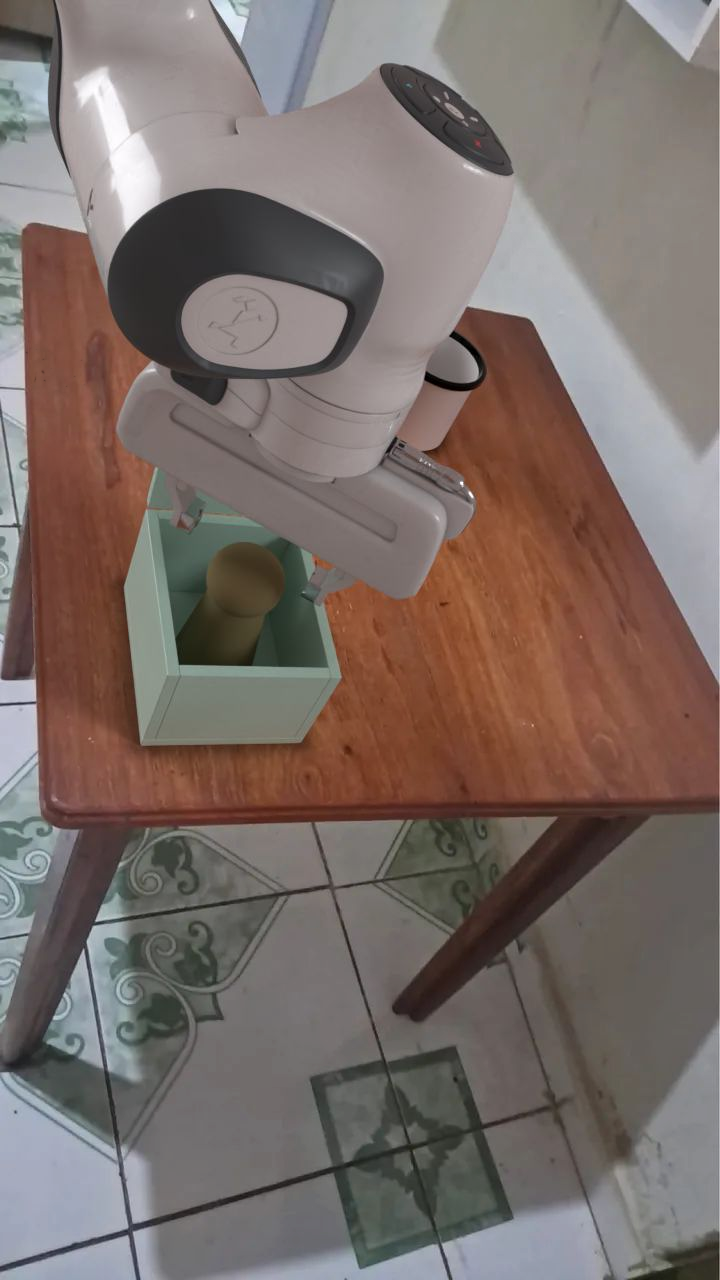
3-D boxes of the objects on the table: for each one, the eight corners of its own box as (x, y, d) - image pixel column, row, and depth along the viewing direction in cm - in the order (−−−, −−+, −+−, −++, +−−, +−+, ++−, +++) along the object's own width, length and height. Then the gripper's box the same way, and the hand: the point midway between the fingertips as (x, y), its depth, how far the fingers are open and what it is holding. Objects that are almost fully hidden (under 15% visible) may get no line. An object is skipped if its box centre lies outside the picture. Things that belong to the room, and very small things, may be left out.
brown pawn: (266, 656, 72) (313, 563, 64) (223, 707, 68) (267, 616, 60) (201, 610, 72) (239, 513, 64) (154, 659, 68) (188, 561, 60)
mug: (396, 464, 92) (435, 392, 85) (343, 397, 95) (377, 323, 88) (481, 444, 99) (523, 377, 92) (430, 382, 102) (467, 313, 95)
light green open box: (300, 743, 69) (342, 677, 63) (140, 746, 64) (167, 675, 58) (269, 594, 76) (304, 522, 70) (123, 587, 72) (145, 508, 65)
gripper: (502, 461, 54) (403, 606, 64) (183, 278, 53) (133, 456, 63) (476, 526, 50) (375, 670, 60) (129, 329, 48) (84, 511, 59)
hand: (249, 560), depth 61 cm, fingers open, 8 cm apart
